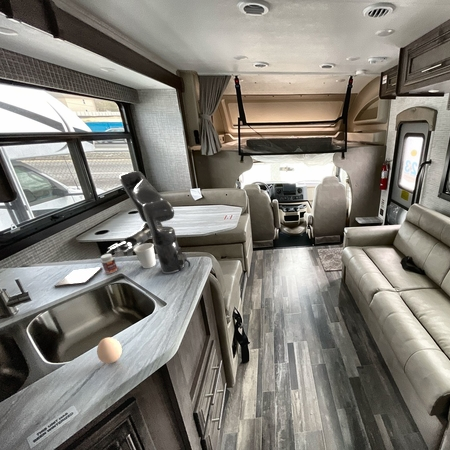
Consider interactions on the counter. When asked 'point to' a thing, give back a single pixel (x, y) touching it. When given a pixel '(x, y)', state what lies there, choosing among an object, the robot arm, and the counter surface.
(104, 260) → the pill bottle
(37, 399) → the counter surface
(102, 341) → the egg
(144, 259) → the dixie cup
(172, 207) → the robot arm
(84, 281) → the mat
